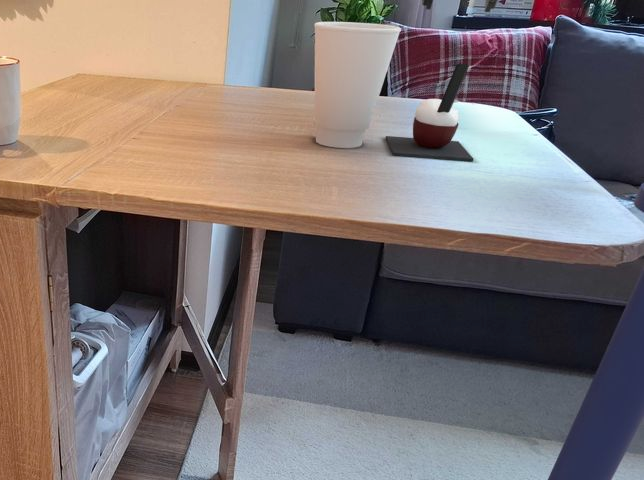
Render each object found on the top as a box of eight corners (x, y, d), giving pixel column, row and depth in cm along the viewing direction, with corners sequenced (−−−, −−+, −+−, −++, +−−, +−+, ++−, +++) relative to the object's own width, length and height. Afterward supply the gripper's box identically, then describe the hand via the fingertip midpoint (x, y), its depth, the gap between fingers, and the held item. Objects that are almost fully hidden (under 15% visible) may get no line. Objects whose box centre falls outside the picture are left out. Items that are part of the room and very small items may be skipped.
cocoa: (413, 137, 99) (431, 53, 93) (455, 143, 97) (477, 57, 91) (403, 150, 92) (422, 60, 86) (448, 156, 89) (471, 64, 83)
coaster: (457, 143, 98) (458, 141, 98) (472, 161, 89) (473, 158, 89) (385, 138, 100) (385, 135, 100) (392, 155, 91) (393, 152, 90)
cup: (377, 155, 90) (402, 30, 82) (294, 147, 93) (310, 25, 84) (379, 138, 100) (401, 24, 92) (304, 130, 102) (318, 20, 94)
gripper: (427, -102, 97) (414, -16, 93) (527, -101, 94) (518, -12, 90) (418, -60, 104) (405, 23, 100) (510, -57, 101) (501, 28, 97)
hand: (458, 6), depth 95 cm, fingers open, 8 cm apart
